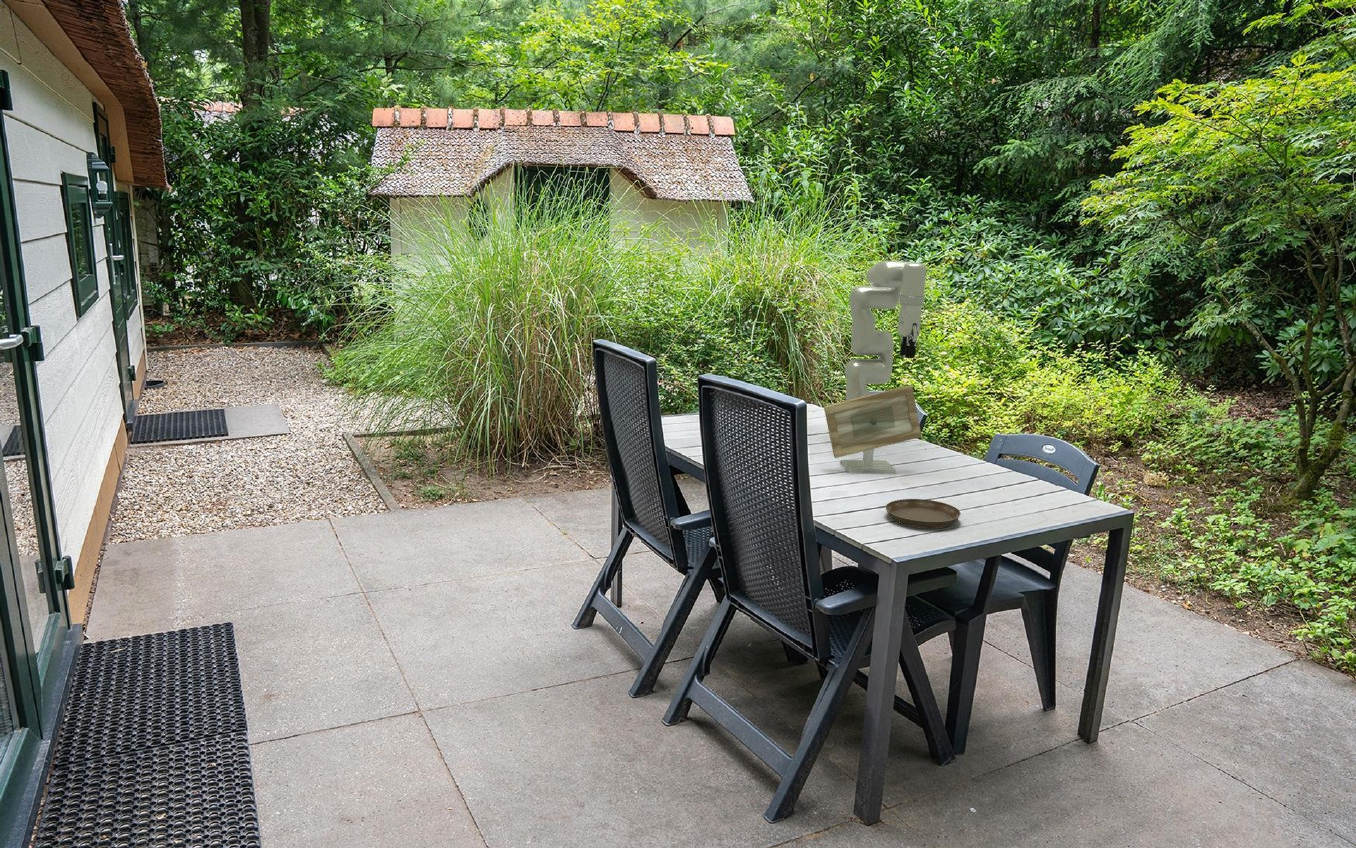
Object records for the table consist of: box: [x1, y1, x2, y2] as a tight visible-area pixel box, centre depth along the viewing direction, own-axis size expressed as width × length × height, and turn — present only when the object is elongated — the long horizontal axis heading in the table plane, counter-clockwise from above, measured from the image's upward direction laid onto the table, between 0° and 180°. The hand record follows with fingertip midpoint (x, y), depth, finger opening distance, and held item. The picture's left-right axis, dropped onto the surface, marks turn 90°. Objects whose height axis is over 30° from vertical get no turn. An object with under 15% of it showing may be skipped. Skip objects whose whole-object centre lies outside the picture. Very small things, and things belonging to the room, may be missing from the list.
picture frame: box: [823, 384, 923, 459], centre depth 313 cm, size 3×30×18 cm, turn 94°
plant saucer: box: [885, 498, 962, 530], centre depth 265 cm, size 21×21×3 cm
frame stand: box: [839, 449, 897, 475], centre depth 317 cm, size 12×16×18 cm
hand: (907, 356), depth 309 cm, fingers open, 4 cm apart
